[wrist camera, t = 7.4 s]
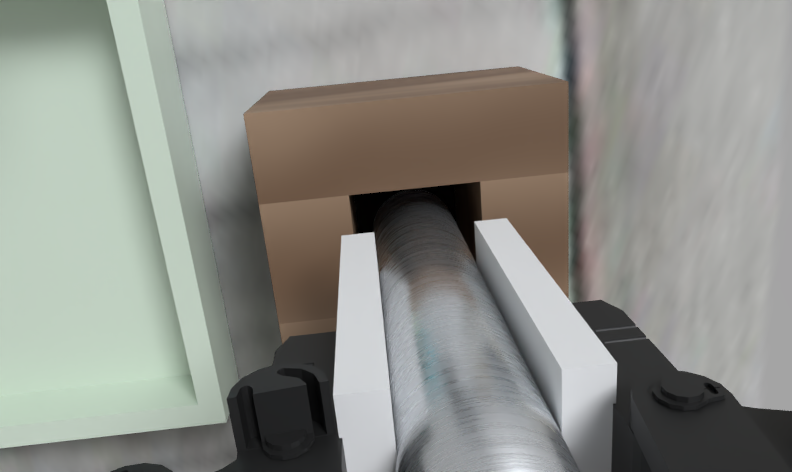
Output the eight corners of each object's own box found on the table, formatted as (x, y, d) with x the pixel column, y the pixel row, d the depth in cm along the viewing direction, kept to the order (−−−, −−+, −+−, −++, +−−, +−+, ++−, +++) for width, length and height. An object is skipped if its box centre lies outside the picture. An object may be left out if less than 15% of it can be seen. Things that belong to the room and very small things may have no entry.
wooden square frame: (269, 91, 20) (243, 114, 15) (518, 66, 20) (568, 81, 16) (303, 317, 23) (291, 396, 18) (524, 293, 23) (568, 364, 18)
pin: (368, 194, 18) (408, 645, 5) (451, 185, 18) (696, 607, 5) (377, 270, 19) (430, 830, 6) (455, 261, 19) (680, 795, 6)
